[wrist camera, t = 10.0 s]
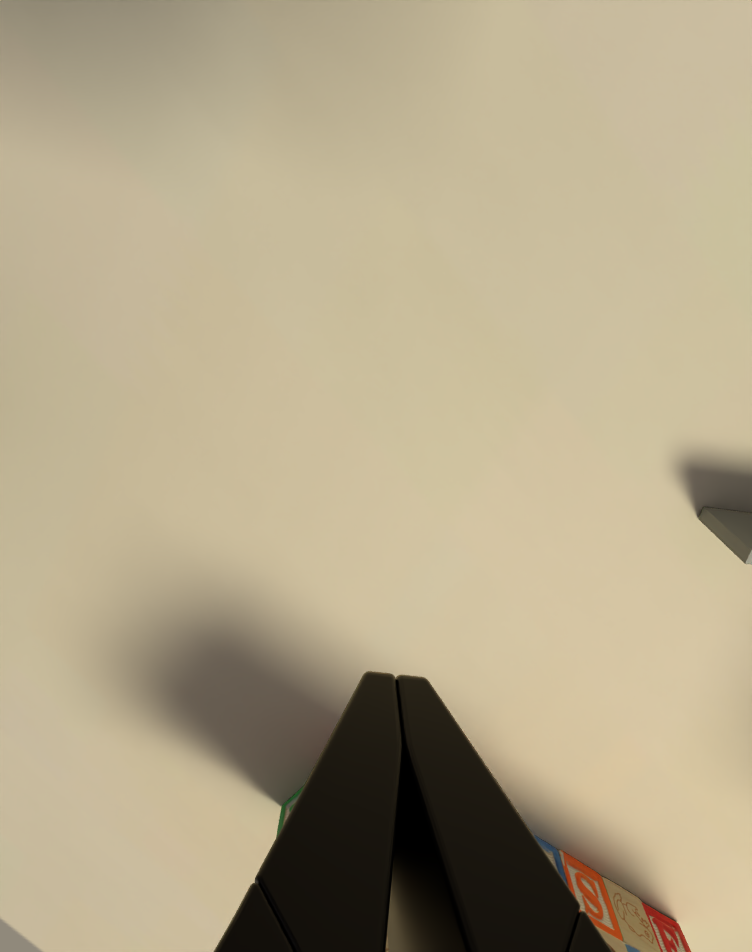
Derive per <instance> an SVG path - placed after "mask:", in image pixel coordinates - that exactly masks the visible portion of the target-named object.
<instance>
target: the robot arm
mask: <svg viewBox="0 0 752 952" xmlns="http://www.w3.org/2000/svg"><path fill="white" fill-rule="evenodd" d="M579 911H580V903H579V902H578V900H577V899H576V897H575V896H574V894H573V893H572V891H571V890H570V889H569V887H568V886H567V884H566V883H565V881H564V880H563V878H562V877H561V875H560V874H559V872H558V871H557V869H556V868H555V866H554V865H553V863H552V862H551V861H550V859H549V858H548V856H547V855H546V853H545V852H544V850H543V849H542V847H541V846H540V844H539V843H538V841H537V840H536V838H535V837H534V836H533V834H532V833H531V831H530V830H529V828H528V827H527V825H526V824H525V822H524V821H523V819H522V818H521V816H520V815H519V813H518V812H517V810H516V809H515V808H514V806H513V805H512V803H511V802H510V800H509V799H508V797H507V796H506V794H505V793H504V791H503V790H502V788H501V787H500V785H499V784H498V782H497V781H496V780H495V778H494V777H493V775H492V774H491V772H490V771H489V769H488V768H487V766H486V765H485V763H484V762H483V760H482V759H481V757H480V756H479V755H478V753H477V752H476V750H475V749H474V747H473V746H472V744H471V743H470V741H469V740H468V738H467V737H466V735H465V734H464V732H463V731H462V729H461V728H460V727H459V725H458V724H457V722H456V721H455V719H454V718H453V716H452V715H451V713H450V712H449V710H448V709H447V707H446V706H445V704H444V703H443V701H442V700H441V699H440V697H439V696H438V694H437V693H436V691H435V690H434V688H433V687H432V685H431V684H430V682H429V681H428V680H427V679H426V678H424V677H418V676H409V675H399V676H397V677H396V679H395V677H394V675H392V674H390V673H381V672H372V671H368V672H366V673H365V674H364V675H363V676H362V678H361V680H360V682H359V684H358V686H357V688H356V690H355V691H354V693H353V695H352V697H351V699H350V701H349V703H348V705H347V706H346V708H345V710H344V712H343V714H342V716H341V718H340V720H339V721H338V723H337V725H336V727H335V729H334V731H333V733H332V735H331V736H330V738H329V740H328V742H327V744H326V746H325V748H324V750H323V752H322V753H321V755H320V757H319V759H318V761H317V763H316V765H315V767H314V768H313V770H312V772H311V774H310V776H309V778H308V780H307V782H306V783H305V785H304V787H303V789H302V791H301V793H300V795H299V797H298V798H297V800H296V802H295V804H294V806H293V808H292V810H291V812H290V813H289V815H288V817H287V819H286V821H285V823H284V825H283V827H282V828H281V830H280V832H279V834H278V836H277V838H276V840H275V842H274V843H273V845H272V847H271V849H270V851H269V853H268V855H267V857H266V858H265V860H264V862H263V864H262V866H261V868H260V870H259V872H258V873H257V875H256V877H255V883H253V884H251V886H250V888H249V889H248V891H247V893H246V895H245V897H244V899H243V901H242V902H241V904H240V906H239V908H238V910H237V912H236V914H235V916H234V917H233V919H232V921H231V923H230V924H229V926H228V928H227V930H226V931H225V933H224V935H223V936H222V938H221V940H220V942H219V943H218V945H217V947H216V949H215V950H214V952H385V951H386V940H387V936H388V948H389V952H613V951H612V950H611V948H610V947H609V946H608V944H607V943H606V941H605V940H604V938H603V937H602V935H601V934H600V932H599V931H598V929H597V928H596V926H595V925H594V923H593V922H592V920H591V919H590V918H589V916H588V915H587V913H586V912H585V911H580V912H579Z"/></svg>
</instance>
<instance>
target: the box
mask: <svg viewBox="0 0 752 952" xmlns="http://www.w3.org/2000/svg"><path fill="white" fill-rule="evenodd" d="M699 520H700V521H701V522H702V523H703V524H704V525H705V526H706V527H707V528H708V529H709V530H710V531H711V532H713V533H714V534H715V535H716V536H717V537H718V538H719V539H720V540H721V541H722V542H723V543H724V544H725V545H726V546H727V547H728V548H729V549H730V550H731V551H732V552H733V553H734V554H735V555H737V556H738V557H739V558H740V559H741V560H742V561H743V562H744V563H745V564H751V565H752V513H748V512H740V511H732V510H725V509H717V508H709V507H703V509H702V511H701V514H700V516H699Z"/></svg>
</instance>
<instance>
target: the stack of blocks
mask: <svg viewBox="0 0 752 952" xmlns="http://www.w3.org/2000/svg"><path fill="white" fill-rule="evenodd" d="M303 787H304V786H303ZM303 787H302V788H301V789H300V790H299V791H298V792H297V793H296V794H294V795H293V796H292V797H291V798H290V799H289V800H288V801H287V802H285V803H284V804H283V805H282V808H281V813H280V819H279V825H278V830H277V836H278V834H279V832H280V830H281V828H282V827H283V825H284V823H285V821H286V819H287V817H288V815H289V813H290V812H291V810H292V808H293V806H294V804H295V802H296V800H297V798H298V797H299V795H300V793H301V791H302V789H303ZM533 836H534V837H535V838H536V840H537V841H538V843H539V844H540V846H541V847H542V849H543V850H544V852H545V853H546V855H547V856H548V858H549V859H550V861H551V862H552V863H553V865H554V866H555V868H556V869H557V871H558V872H559V874H560V875H561V877H562V878H563V880H564V881H565V883H566V884H567V886H568V887H569V889H570V890H571V891H572V893H573V894H574V896H575V897H576V899H577V900H578V902H579V903H580V911H585V912H586V913H587V915H588V916H589V918H590V919H591V920H592V922H593V923H594V925H595V926H596V928H597V929H598V931H599V932H600V934H601V935H602V937H603V938H604V940H605V941H606V943H607V944H608V946H609V947H610V948H611V950H612V951H613V952H691V951H690V948H689V946H688V944H687V942H686V939H685V937H684V935H683V933H682V931H681V928H680V926H679V924H678V923H677V922H675V921H673V920H671V919H670V918H668V917H666V916H665V915H663V914H661V913H659V912H658V911H656V910H654V909H653V908H651V907H649V906H647V905H646V904H644V903H643V902H641V901H640V899H639V898H638V897H636V896H634V895H633V894H631V893H630V892H628V891H626V890H625V889H623V888H622V887H620V886H618V885H617V884H615V883H613V882H612V881H610V880H608V879H606V878H604V877H601V876H600V875H599V874H598V873H597V872H595V871H594V870H592V869H591V868H589V867H587V866H586V865H584V864H582V863H581V862H579V861H578V860H576V859H575V858H573V857H571V856H570V855H568V854H566V853H565V852H563V851H562V850H556V849H555V848H554V847H553V846H551V845H550V844H548V843H546V842H545V841H543V840H541V839H540V838H538V837H537V836H535V835H533ZM276 838H277V837H276ZM580 911H579V912H580ZM385 952H389V948H388V936H387V940H386V951H385Z"/></svg>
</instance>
